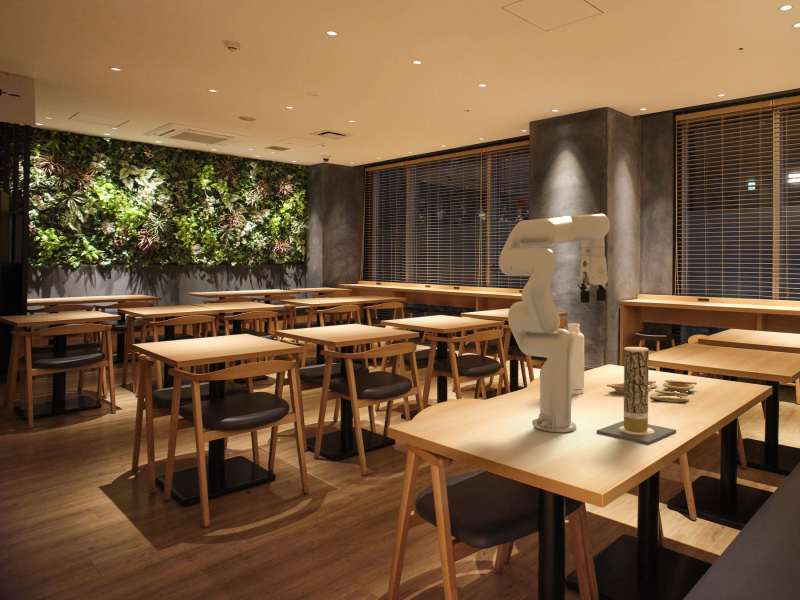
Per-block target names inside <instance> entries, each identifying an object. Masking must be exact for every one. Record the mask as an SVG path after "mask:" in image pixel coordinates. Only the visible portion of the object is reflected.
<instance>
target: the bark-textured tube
mask: <svg viewBox="0 0 800 600" xmlns="http://www.w3.org/2000/svg"><path fill="white" fill-rule="evenodd" d="M623 351H624V352H623V355H624V356H623V360H624V361H623V383H624V395H623V421H624V428H625V429H626V430H628V431H632V432H645V431H647V429H648V424H649V389H648V381H649V365H650V364H649V358H650V357H649V354H650V353H649V348H648V347H644V346H626V347H624V349H623Z"/></svg>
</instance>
